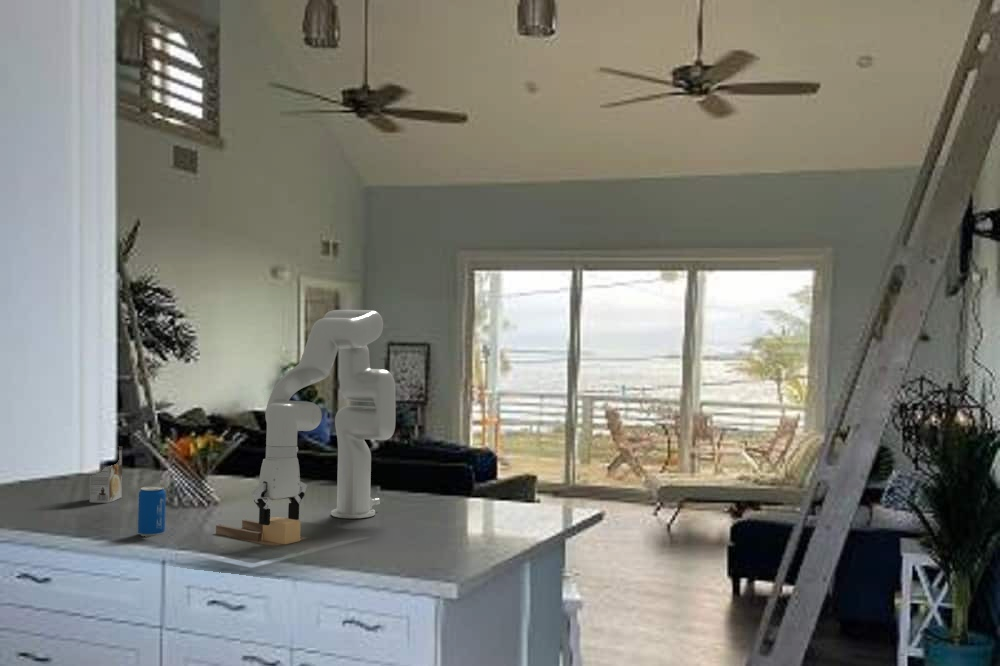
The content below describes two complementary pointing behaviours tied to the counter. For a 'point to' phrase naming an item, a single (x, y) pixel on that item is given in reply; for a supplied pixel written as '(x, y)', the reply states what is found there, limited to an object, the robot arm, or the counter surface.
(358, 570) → the counter surface
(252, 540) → the brown piece
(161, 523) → the beverage can
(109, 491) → the coffee box
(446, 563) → the counter surface
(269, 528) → the block
